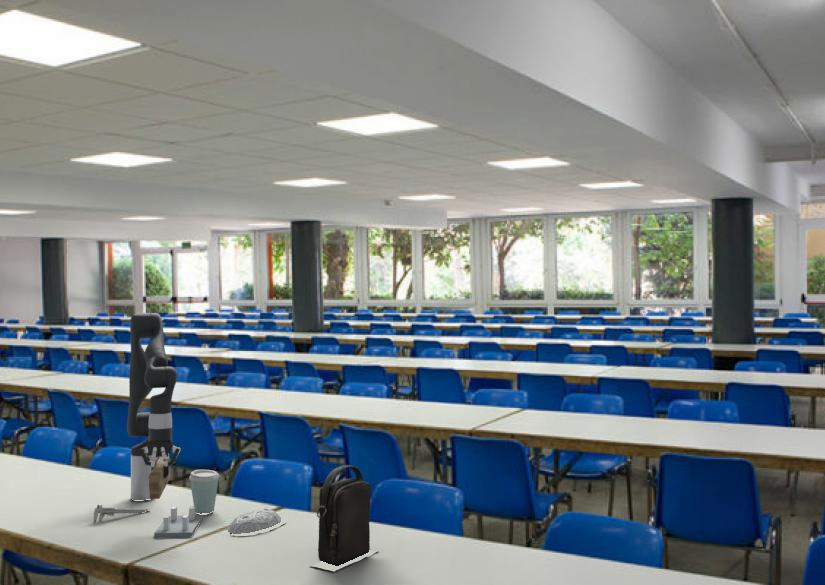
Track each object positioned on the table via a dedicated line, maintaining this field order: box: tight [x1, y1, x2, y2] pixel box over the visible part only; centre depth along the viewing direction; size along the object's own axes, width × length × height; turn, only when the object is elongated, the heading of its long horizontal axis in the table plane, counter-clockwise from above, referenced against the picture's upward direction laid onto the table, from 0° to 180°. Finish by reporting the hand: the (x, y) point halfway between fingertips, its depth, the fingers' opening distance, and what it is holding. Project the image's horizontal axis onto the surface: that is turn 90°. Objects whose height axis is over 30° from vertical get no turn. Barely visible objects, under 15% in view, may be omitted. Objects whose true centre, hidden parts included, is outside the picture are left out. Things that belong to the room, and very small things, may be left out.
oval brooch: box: [227, 507, 282, 534], centre depth 267 cm, size 16×25×7 cm, turn 147°
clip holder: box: [153, 505, 204, 539], centre depth 265 cm, size 20×12×6 cm, turn 5°
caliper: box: [93, 504, 149, 524], centre depth 278 cm, size 20×1×6 cm, turn 136°
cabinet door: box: [149, 454, 172, 500], centre depth 264 cm, size 16×4×8 cm, turn 3°
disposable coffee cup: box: [188, 469, 220, 514], centre depth 283 cm, size 11×11×15 cm
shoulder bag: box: [316, 464, 372, 566], centre depth 235 cm, size 23×9×28 cm, turn 146°
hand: (160, 477), depth 264 cm, fingers closed on cabinet door, 3 cm apart
